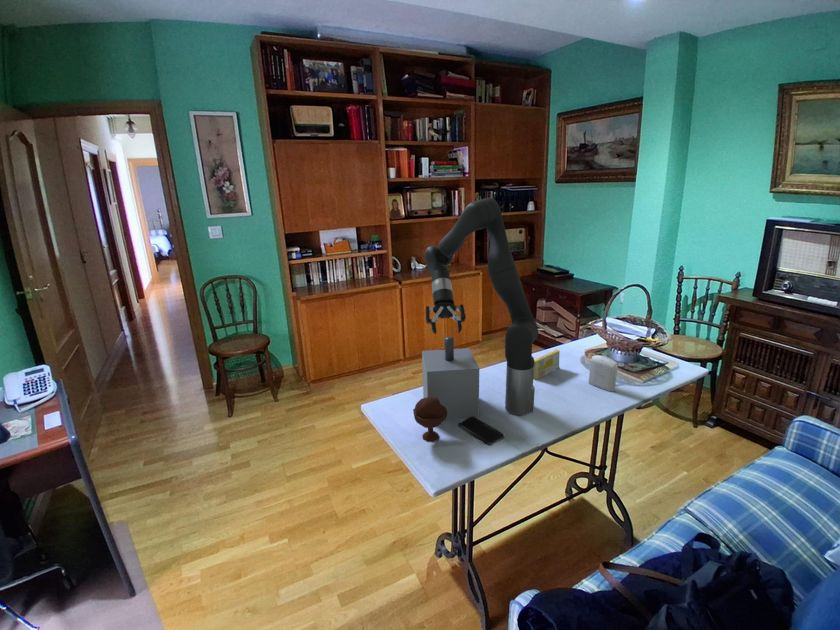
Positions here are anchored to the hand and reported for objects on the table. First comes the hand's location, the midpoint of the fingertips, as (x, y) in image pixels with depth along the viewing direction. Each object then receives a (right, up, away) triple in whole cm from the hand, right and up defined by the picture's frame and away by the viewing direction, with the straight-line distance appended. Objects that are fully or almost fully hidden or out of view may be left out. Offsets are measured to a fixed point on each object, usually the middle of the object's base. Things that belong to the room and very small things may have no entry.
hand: (447, 332), depth 155 cm
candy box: (+43, -18, +28) cm, 54 cm away
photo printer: (+61, -22, +16) cm, 67 cm away
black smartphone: (+10, -33, -11) cm, 36 cm away
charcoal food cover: (+1, -27, +4) cm, 28 cm away
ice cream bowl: (-6, -34, -13) cm, 37 cm away
